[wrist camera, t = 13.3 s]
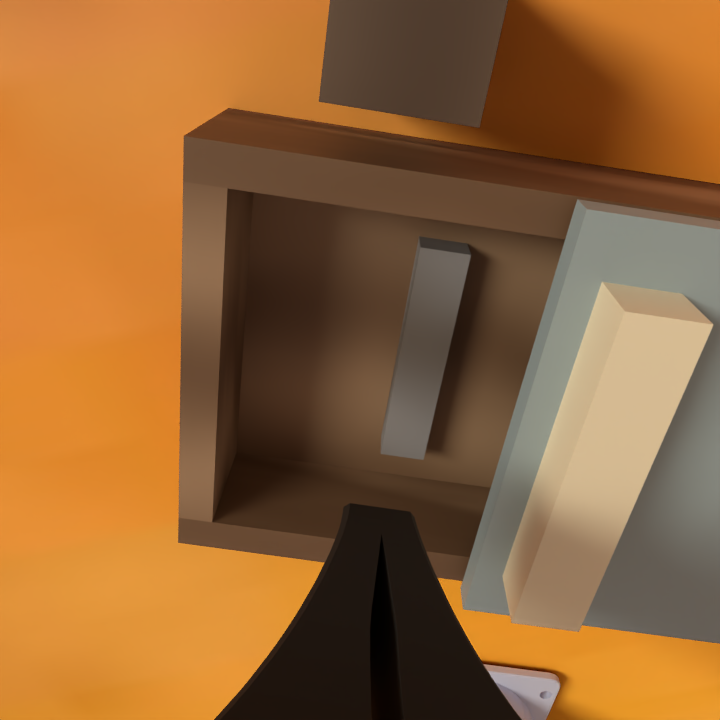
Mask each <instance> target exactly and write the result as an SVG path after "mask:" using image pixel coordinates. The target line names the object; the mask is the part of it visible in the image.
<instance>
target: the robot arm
mask: <svg viewBox="0 0 720 720" xmlns="http://www.w3.org/2000/svg"><path fill="white" fill-rule="evenodd" d="M559 689H560V682H559V678H558V676H556V675H555V674H553V673H548V672H541V671H533V670H525V669H518V668H510V667H502V666H495V665H487V664H483V663H482V661H481V660H480V658H479V657H478V655H477V653H476V652H475V650H474V648H473V646H472V645H471V643H470V641H469V640H468V638H467V636H466V634H465V632H464V631H463V629H462V627H461V625H460V623H459V621H458V620H457V618H456V616H455V614H454V612H453V610H452V608H451V606H450V604H449V602H448V600H447V598H446V596H445V593H444V591H443V589H442V587H441V585H440V583H439V581H438V579H437V576H436V574H435V572H434V569H433V567H432V565H431V562H430V560H429V557H428V555H427V552H426V550H425V547H424V545H423V542H422V539H421V536H420V533H419V530H418V527H417V524H416V521H415V517H414V516H413V514H412V513H411V512H410V511H403V510H395V509H388V508H381V507H374V506H367V505H360V504H353V503H349V504H347V505H346V506H344V507H343V513H342V518H341V523H340V527H339V530H338V533H337V536H336V538H335V541H334V543H333V546H332V548H331V551H330V553H329V555H328V557H327V559H326V561H325V563H324V565H323V567H322V570H321V572H320V574H319V576H318V578H317V580H316V581H315V583H314V585H313V587H312V589H311V590H310V592H309V594H308V595H307V597H306V599H305V601H304V602H303V604H302V606H301V608H300V609H299V611H298V613H297V614H296V616H295V617H294V619H293V620H292V622H291V624H290V625H289V627H288V628H287V630H286V631H285V633H284V634H283V635H282V637H281V638H280V640H279V641H278V643H277V644H276V645H275V647H274V648H273V650H272V651H271V652H270V654H269V655H268V656H267V658H266V659H265V660H264V661H263V663H262V664H261V665H260V667H259V668H258V669H257V671H256V672H255V673H254V674H253V676H252V677H251V678H250V679H249V681H248V682H247V683H246V684H245V685H244V687H243V688H242V689H241V690H240V691H239V693H238V694H237V695H236V696H235V697H234V698H233V699H232V700H231V701H230V703H229V704H228V705H227V706H226V707H225V708H224V709H223V710H222V711H221V713H220V714H219V715H218V716H217V717H216V718H215V719H214V720H546V718H547V716H548V714H549V712H550V710H551V707H552V705H553V703H554V701H555V698H556V696H557V694H558V692H559Z"/></svg>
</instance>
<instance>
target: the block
mask: <svg viewBox="0 0 720 720" xmlns="http://www.w3.org/2000/svg"><path fill="white" fill-rule="evenodd" d="M507 3H508V0H330V6H329V15H328V24H327V33H326V42H325V51H324V60H323V69H322V78H321V87H320V96H319V102H325V103H331V104H337V105H343V106H349V107H355V108H361V109H367V110H374V111H380V112H386V113H392V114H398V115H404V116H410V117H416V118H422V119H429V120H435V121H441V122H447V123H453V124H459V125H465V126H471V127H478V128H480V123H481V119H482V114H483V110H484V105H485V101H486V96H487V92H488V87H489V83H490V79H491V74H492V70H493V65H494V61H495V56H496V52H497V47H498V43H499V38H500V34H501V30H502V25H503V21H504V16H505V12H506V7H507Z"/></svg>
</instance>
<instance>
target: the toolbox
mask: <svg viewBox="0 0 720 720" xmlns="http://www.w3.org/2000/svg"><path fill="white" fill-rule="evenodd" d="M577 199H579V200H585V201H592V202H598V203H605V204H611V205H618V206H624V207H631V208H638V209H644V210H651V211H657V212H664V213H670V214H677V215H683V216H690V217H696V218H703V219H709V220H716V221H720V184H714V183H708V182H702V181H695V180H689V179H682V178H676V177H669V176H663V175H656V174H650V173H644V172H637V171H631V170H624V169H618V168H611V167H605V166H598V165H592V164H586V163H579V162H573V161H566V160H560V159H553V158H547V157H540V156H534V155H527V154H521V153H515V152H508V151H502V150H495V149H489V148H482V147H476V146H469V145H463V144H457V143H450V142H444V141H437V140H431V139H424V138H418V137H411V136H405V135H399V134H392V133H386V132H379V131H373V130H366V129H360V128H353V127H347V126H340V125H334V124H328V123H321V122H315V121H308V120H302V119H295V118H289V117H282V116H276V115H270V114H263V113H257V112H250V111H244V110H237V109H231V108H228V109H226V110H225V111H223V112H222V113H220V114H218V115H217V116H215V117H214V118H212V119H210V120H209V121H207V122H205V123H204V124H202V125H201V126H199V127H197V128H196V129H194V130H193V131H191V132H189V133H188V134H186V135H185V136H184V165H183V238H182V312H181V385H180V459H179V532H178V543H185V544H192V545H199V546H207V547H214V548H222V549H229V550H237V551H244V552H251V553H259V554H266V555H274V556H281V557H288V558H296V559H303V560H311V561H318V562H325V561H326V559H327V557H328V555H329V553H330V551H331V548H332V546H333V543H334V541H335V538H336V536H337V533H338V530H339V527H340V523H341V518H342V513H343V507H344V506H346V505H347V504H349V503H353V504H360V505H367V506H374V507H381V508H388V509H395V510H403V511H410V512H411V513H412V514H413V516H414V517H415V521H416V524H417V527H418V530H419V533H420V536H421V539H422V542H423V545H424V547H425V550H426V552H427V555H428V557H429V560H430V562H431V565H432V567H433V569H434V572H435V574H436V576H437V578H444V579H452V580H459V581H463V579H464V575H465V572H466V569H467V565H468V562H469V559H470V555H471V552H472V549H473V545H474V542H475V539H476V535H477V532H478V529H479V525H480V522H481V519H482V515H483V512H484V509H485V505H486V502H487V499H488V495H489V492H490V489H491V485H492V482H493V479H494V475H495V472H496V469H497V465H498V462H499V459H500V455H501V452H502V449H503V445H504V442H505V439H506V435H507V432H508V429H509V425H510V422H511V419H512V415H513V412H514V409H515V405H516V402H517V399H518V395H519V392H520V389H521V385H522V382H523V379H524V375H525V372H526V369H527V365H528V362H529V359H530V355H531V352H532V349H533V345H534V342H535V339H536V335H537V332H538V329H539V325H540V322H541V319H542V315H543V312H544V309H545V305H546V302H547V299H548V295H549V292H550V289H551V285H552V282H553V279H554V275H555V272H556V269H557V265H558V262H559V259H560V255H561V252H562V249H563V245H564V242H565V239H566V235H567V232H568V229H569V225H570V222H571V219H572V215H573V212H574V209H575V205H576V202H577Z"/></svg>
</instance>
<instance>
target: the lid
mask: <svg viewBox="0 0 720 720" xmlns="http://www.w3.org/2000/svg"><path fill="white" fill-rule="evenodd" d="M461 595H462V603H463V609H465V610H472V611H480V612H487V613H495V614H502V615H510V618H511V623H517V624H524V625H532V626H539V627H547V628H554V629H562V630H569V631H577V632H579V630H580V628H581V626H582V625H585V626H592V627H600V628H607V629H615V630H622V631H630V632H637V633H645V634H652V635H660V636H667V637H675V638H682V639H690V640H697V641H705V642H712V643H720V221H716V220H709V219H703V218H696V217H690V216H683V215H677V214H670V213H664V212H657V211H651V210H644V209H638V208H631V207H624V206H618V205H611V204H605V203H598V202H592V201H585V200H579V199H577V202H576V205H575V209H574V212H573V215H572V219H571V222H570V225H569V229H568V232H567V235H566V239H565V242H564V245H563V249H562V252H561V255H560V259H559V262H558V265H557V269H556V272H555V275H554V279H553V282H552V285H551V289H550V292H549V295H548V299H547V302H546V305H545V309H544V312H543V315H542V319H541V322H540V325H539V329H538V332H537V335H536V339H535V342H534V345H533V349H532V352H531V355H530V359H529V362H528V365H527V369H526V372H525V375H524V379H523V382H522V385H521V389H520V392H519V395H518V399H517V402H516V405H515V409H514V412H513V415H512V419H511V422H510V425H509V429H508V432H507V435H506V439H505V442H504V445H503V449H502V452H501V455H500V459H499V462H498V465H497V469H496V472H495V475H494V479H493V482H492V485H491V489H490V492H489V495H488V499H487V502H486V505H485V509H484V512H483V515H482V519H481V522H480V525H479V529H478V532H477V535H476V539H475V542H474V545H473V549H472V552H471V555H470V559H469V562H468V565H467V569H466V572H465V575H464V579H463V582H462V585H461Z"/></svg>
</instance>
